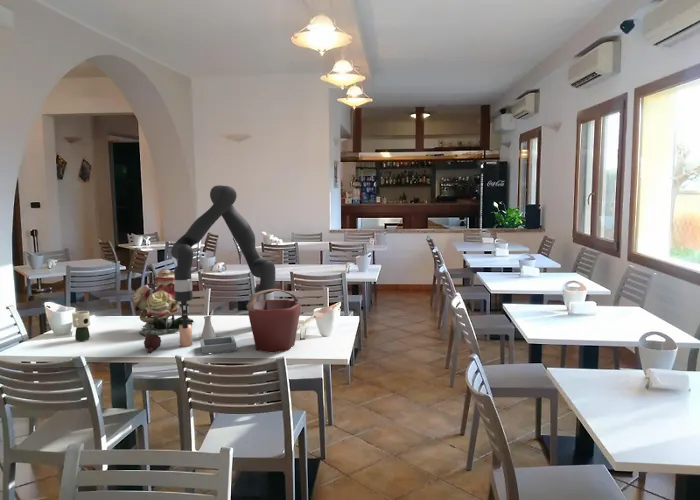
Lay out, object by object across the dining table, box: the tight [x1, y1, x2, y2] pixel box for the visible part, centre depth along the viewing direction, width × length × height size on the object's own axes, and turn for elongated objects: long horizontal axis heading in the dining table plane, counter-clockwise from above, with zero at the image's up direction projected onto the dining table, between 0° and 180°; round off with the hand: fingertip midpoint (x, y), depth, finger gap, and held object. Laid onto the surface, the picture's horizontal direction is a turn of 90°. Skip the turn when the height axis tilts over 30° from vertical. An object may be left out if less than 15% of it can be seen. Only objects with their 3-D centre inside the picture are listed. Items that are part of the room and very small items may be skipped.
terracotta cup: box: [178, 323, 193, 348], centre depth 251 cm, size 5×5×9 cm
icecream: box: [143, 334, 162, 354], centre depth 246 cm, size 7×7×15 cm
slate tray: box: [200, 335, 237, 355], centre depth 245 cm, size 14×12×4 cm
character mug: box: [71, 310, 91, 342], centre depth 261 cm, size 11×7×13 cm, turn 0°
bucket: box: [245, 288, 301, 353], centre depth 246 cm, size 24×22×25 cm
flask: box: [200, 315, 217, 340], centre depth 262 cm, size 7×7×10 cm
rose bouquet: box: [130, 268, 195, 337], centre depth 276 cm, size 26×29×30 cm
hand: (184, 325), depth 250 cm, fingers open, 8 cm apart
